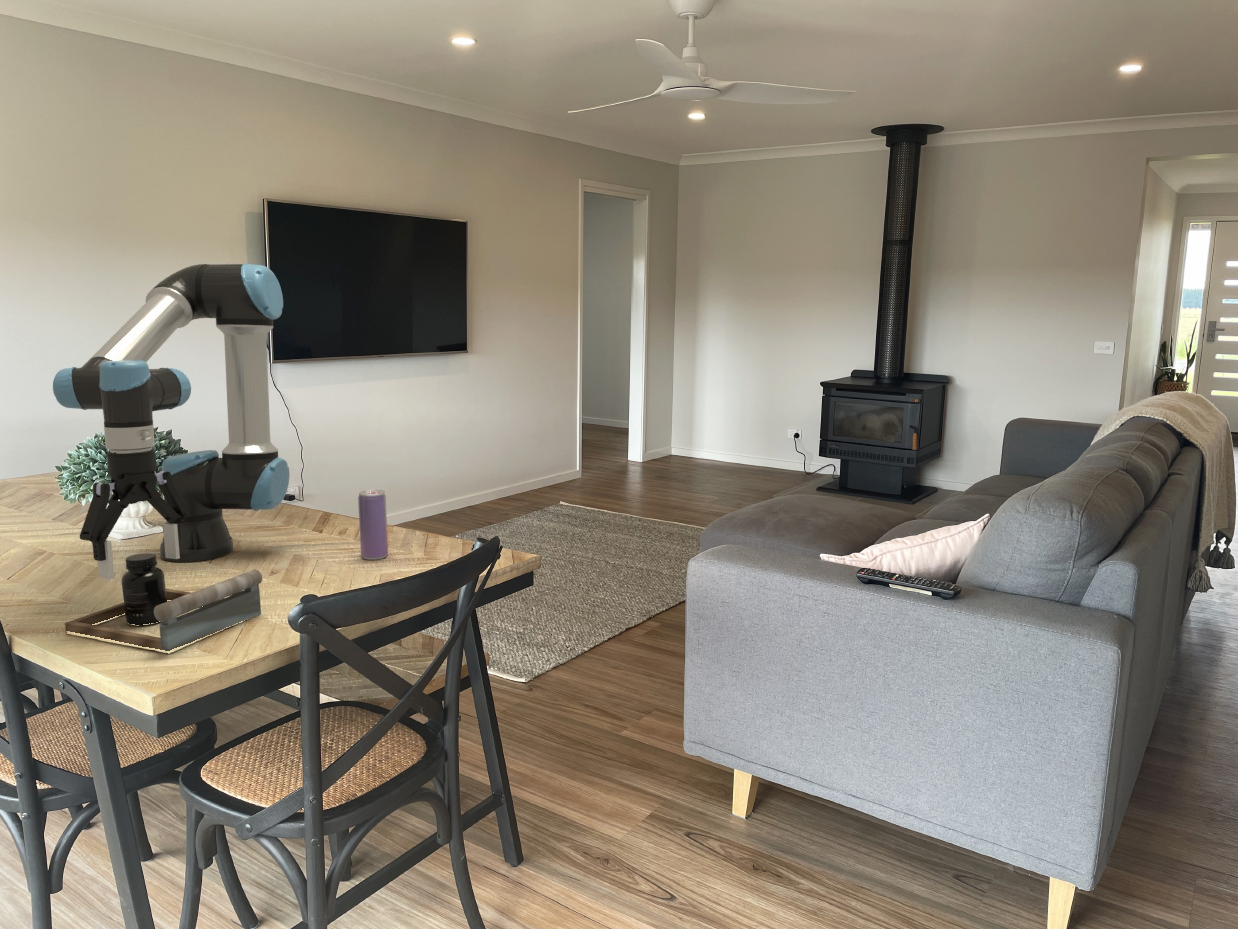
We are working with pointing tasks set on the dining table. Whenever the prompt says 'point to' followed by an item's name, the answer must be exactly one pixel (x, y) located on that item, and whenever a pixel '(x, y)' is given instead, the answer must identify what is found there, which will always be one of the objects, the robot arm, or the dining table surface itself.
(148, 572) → the supplement bottle
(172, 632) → the bay
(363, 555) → the beverage can
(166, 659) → the dining table surface
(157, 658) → the dining table surface
